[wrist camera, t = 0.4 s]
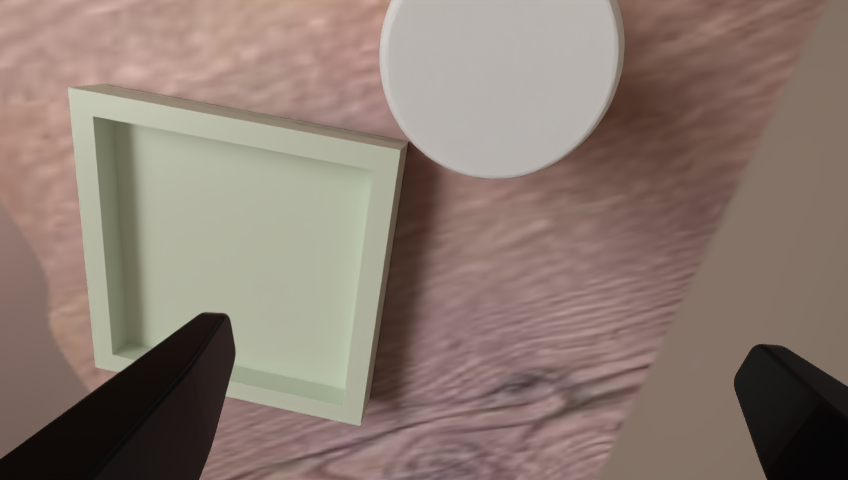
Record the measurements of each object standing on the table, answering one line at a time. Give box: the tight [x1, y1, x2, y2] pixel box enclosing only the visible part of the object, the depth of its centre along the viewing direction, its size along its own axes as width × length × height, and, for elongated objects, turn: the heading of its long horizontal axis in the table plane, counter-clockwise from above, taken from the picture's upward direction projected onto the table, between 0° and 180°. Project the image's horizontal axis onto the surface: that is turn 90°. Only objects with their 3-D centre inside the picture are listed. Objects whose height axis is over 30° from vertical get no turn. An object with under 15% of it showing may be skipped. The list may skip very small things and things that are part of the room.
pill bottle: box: [379, 0, 625, 179], centre depth 15 cm, size 6×6×11 cm
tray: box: [68, 84, 408, 426], centre depth 24 cm, size 14×14×2 cm
